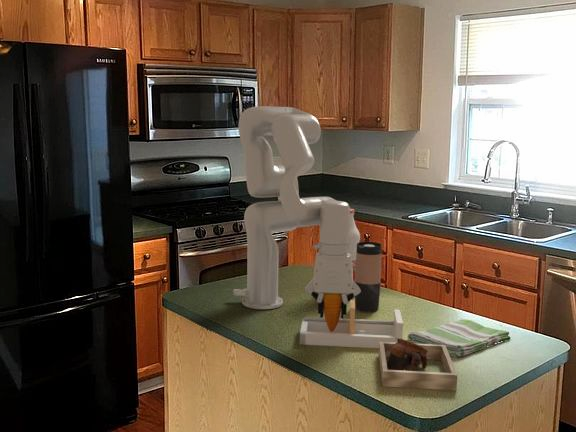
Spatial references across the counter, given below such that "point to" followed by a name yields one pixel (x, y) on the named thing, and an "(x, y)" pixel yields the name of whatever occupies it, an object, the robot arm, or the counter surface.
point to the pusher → (353, 319)
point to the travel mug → (368, 276)
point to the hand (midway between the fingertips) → (332, 315)
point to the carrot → (332, 309)
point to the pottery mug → (413, 356)
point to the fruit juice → (353, 241)
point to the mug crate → (417, 377)
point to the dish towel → (460, 337)
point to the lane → (376, 331)
